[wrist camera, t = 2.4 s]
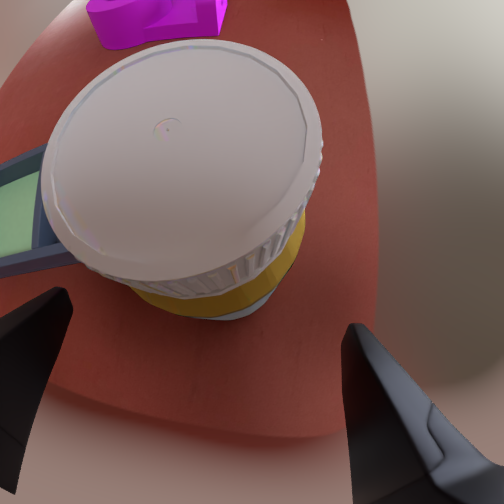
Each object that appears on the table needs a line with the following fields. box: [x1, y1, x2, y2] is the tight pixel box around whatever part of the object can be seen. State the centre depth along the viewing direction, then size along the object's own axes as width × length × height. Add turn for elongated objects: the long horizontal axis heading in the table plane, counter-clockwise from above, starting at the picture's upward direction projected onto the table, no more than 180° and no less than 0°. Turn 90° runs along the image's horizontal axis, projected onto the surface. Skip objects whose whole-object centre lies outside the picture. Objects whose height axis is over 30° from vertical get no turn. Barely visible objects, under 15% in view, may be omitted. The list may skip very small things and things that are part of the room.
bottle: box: [41, 39, 323, 320], centre depth 13 cm, size 7×7×15 cm
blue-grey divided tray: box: [0, 143, 81, 278], centre depth 19 cm, size 10×19×3 cm, turn 99°
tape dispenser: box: [86, 0, 227, 50], centre depth 24 cm, size 16×10×6 cm, turn 87°
